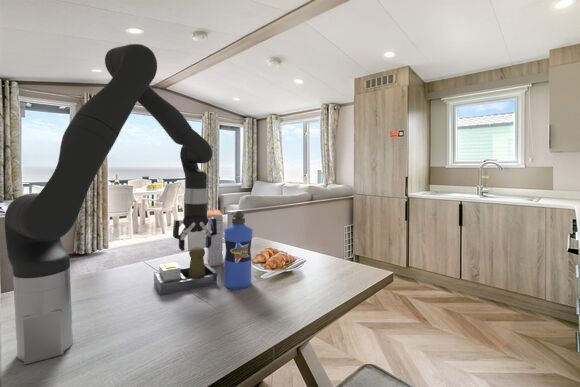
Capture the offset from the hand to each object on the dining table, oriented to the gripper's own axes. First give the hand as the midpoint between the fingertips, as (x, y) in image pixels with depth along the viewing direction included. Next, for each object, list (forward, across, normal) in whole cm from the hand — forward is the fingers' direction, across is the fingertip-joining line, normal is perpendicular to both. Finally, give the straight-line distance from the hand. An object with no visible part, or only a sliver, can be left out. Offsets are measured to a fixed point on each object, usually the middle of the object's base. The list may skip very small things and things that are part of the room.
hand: (195, 248), depth 102 cm
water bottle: (+12, +12, -9) cm, 19 cm away
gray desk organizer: (+12, -3, 0) cm, 12 cm away
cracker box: (+12, +14, +19) cm, 26 cm away
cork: (+11, +1, 0) cm, 11 cm away
